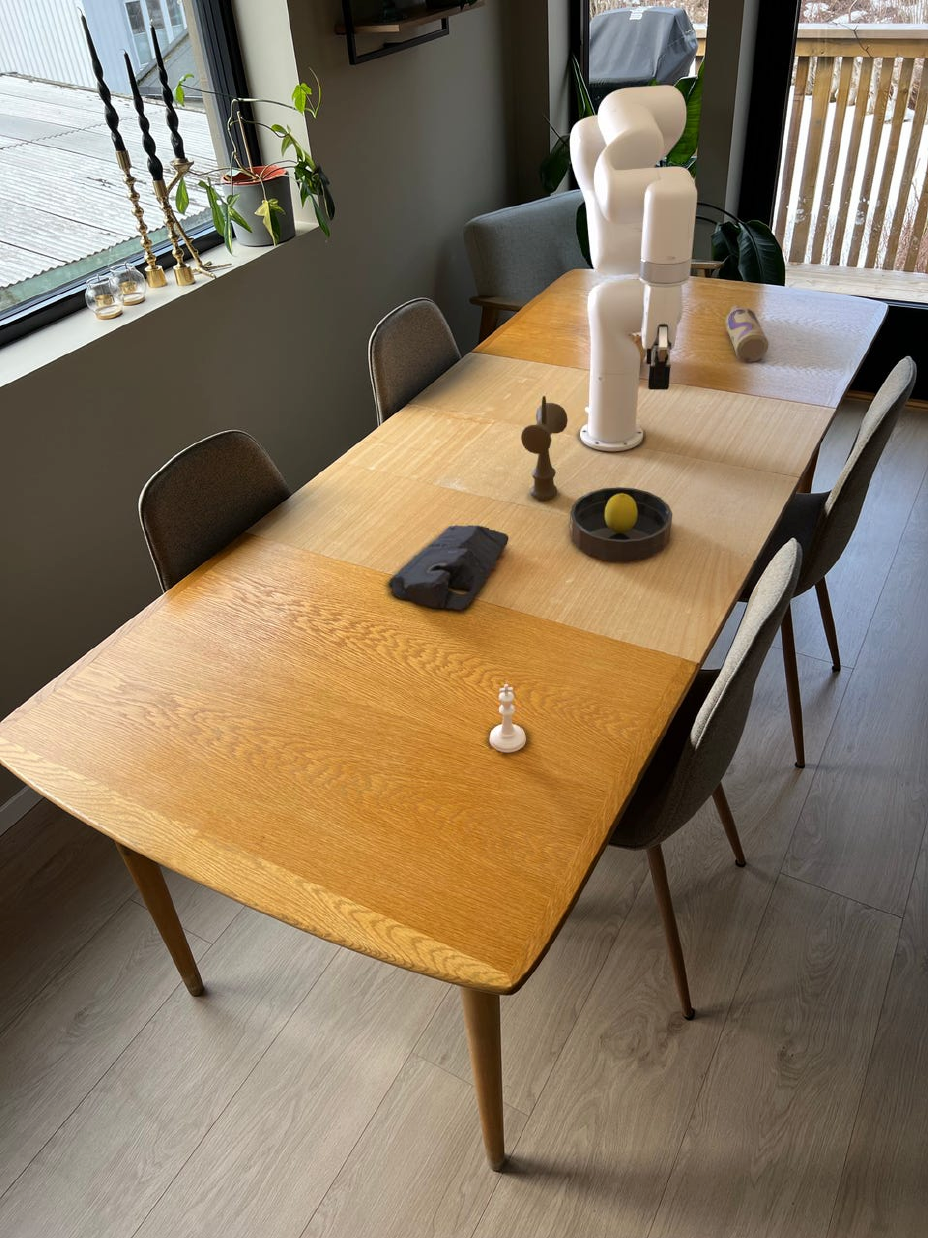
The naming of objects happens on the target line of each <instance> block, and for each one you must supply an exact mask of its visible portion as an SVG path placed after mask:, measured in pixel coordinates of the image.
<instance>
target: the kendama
mask: <svg viewBox="0 0 928 1238" xmlns="http://www.w3.org/2000/svg"><path fill="white" fill-rule="evenodd" d="M535 420H536V424H530V425H528V426H525V427H524V428H523V430H522V431H521V435H520V440H521V444H522V446H523V448H524V449H525V450H526V451H527V452H529V453H531V454H534V455H537V461H536V465H535V467H534V469H533V470H532V471H531V476H532V478H533V486H531V488H530V489H529V493H530V496H531V497H532V498H534V499H536V500H539V501H546V500H551V499H554V497H556V496H557V494H558V488H557V486H556V485H555V482H554V477H555V476H556V473H557V472H556V469H555V468H554V467H553V465H552V462H551V461H552V460H551V455H550V448H551V445H552V434H553V435H554V434H555V435H556V434H560V433H562V432H564V431H565V429H566V428H567V425H568V422H569V420H568V413H567V411H566V410H565V409H564V408H563V407H562V406H561V405H559V404H557V403H554V402H547V397H546V396H545V395H543V396H542V397H541V405H540V406H538V408H537V410H536V414H535Z"/></svg>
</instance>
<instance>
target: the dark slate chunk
mask: <svg viewBox="0 0 928 1238" xmlns="http://www.w3.org/2000/svg"><path fill="white" fill-rule="evenodd" d="M508 541H509V535H508V534H507V533H504V532H501V531H499V530H495V529H490V527H486V526H483V525H473V524H472V525H466V526H465V525H458V524H457V525H450V526H448V527H447V528H446V529H445V530H444V531H443V532H441V533H440V534H439V535H438V537H437V538H436V539H435V540H433V541H432V542H431V543H430V544H429V545H428V546H426V547H425V548H422V550H420V552H418V554H417V555H413V558H411V560H408V562H407V563H406V564H405V565H404V566H402V568H401V569H400V570H399V571H398V572H397V573H395V574H394V576H393V577H391V578H390V579H389V581H388V586H389V587H391V588H392V589H391V590H390V594H391V595H393V596H394V597H396V598H398V599H401V600H402V601H404V600H408V601H411V602H413V603H415V604H418V605H419V606H422V607H426V608H431V609H446V610H458V611H462V610H465V609H467V608H468V606H469V605H470V602H471V601H473V600H474V598H475V597H476V595H477V593H478V592H479V591H480V590H481V589H482V587H483V586H484V584H485V582H486V581H487V579H488V577H489V575H490V574H491V572H492V569H493V568H494V567H495V566H496V562H497V561H498V560H499V558H500V556H501V554H502V552H503V550H504V549H505V547H506V546H507V544H508V543H509V542H508ZM449 587H450V588H451V589H453V590H463V591H468V592H464V593H458V592H455V591H453V590H450V589H449Z"/></svg>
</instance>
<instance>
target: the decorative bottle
mask: <svg viewBox="0 0 928 1238" xmlns="http://www.w3.org/2000/svg"><path fill="white" fill-rule="evenodd" d="M724 321H725V322H724V324H725V325H724V327H725V328H726V330H727V333H728V335H729V339H730V341H731V343H732V346H733V348H734V351H735V354H736V357H737V358H738V359H739V360H741V361H742V362H745V363H751V362H756V361H759V360H760V359H761V358H764V356H765V355H766V354H767V352H768V351H769V345H770V344H769V340H768V337H766V335H765V333H764V330H763V329H762V327H761V324H760V323H759V320H758V319H757V316H756V314H755V313H754V312H753V310H751V309H750V308H747V307H741V306H739V305H738V304H735V305H733V306H732V307H730V310H729V313H728V314H727V316H726V318H725V320H724Z"/></svg>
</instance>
